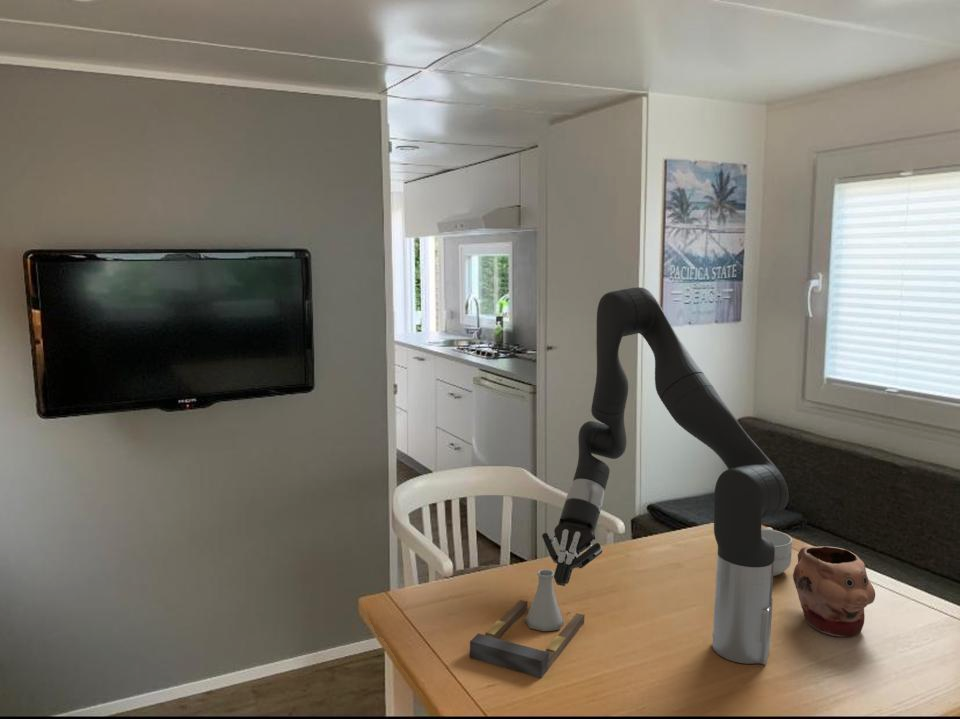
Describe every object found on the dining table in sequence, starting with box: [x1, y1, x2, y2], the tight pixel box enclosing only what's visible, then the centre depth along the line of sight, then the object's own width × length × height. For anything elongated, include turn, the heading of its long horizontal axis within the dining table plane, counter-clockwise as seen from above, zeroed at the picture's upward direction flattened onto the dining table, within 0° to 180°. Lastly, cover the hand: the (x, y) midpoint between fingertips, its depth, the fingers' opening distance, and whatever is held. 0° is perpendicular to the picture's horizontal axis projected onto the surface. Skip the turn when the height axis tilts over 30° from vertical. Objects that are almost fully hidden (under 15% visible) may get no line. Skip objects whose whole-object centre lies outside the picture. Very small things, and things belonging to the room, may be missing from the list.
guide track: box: [469, 599, 585, 679], centre depth 132 cm, size 13×21×3 cm, turn 153°
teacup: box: [761, 526, 793, 577], centre depth 164 cm, size 14×11×8 cm
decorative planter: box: [792, 545, 876, 637], centre depth 140 cm, size 20×12×14 cm, turn 14°
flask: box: [525, 568, 565, 632], centre depth 138 cm, size 7×7×10 cm
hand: (560, 583), depth 145 cm, fingers closed
